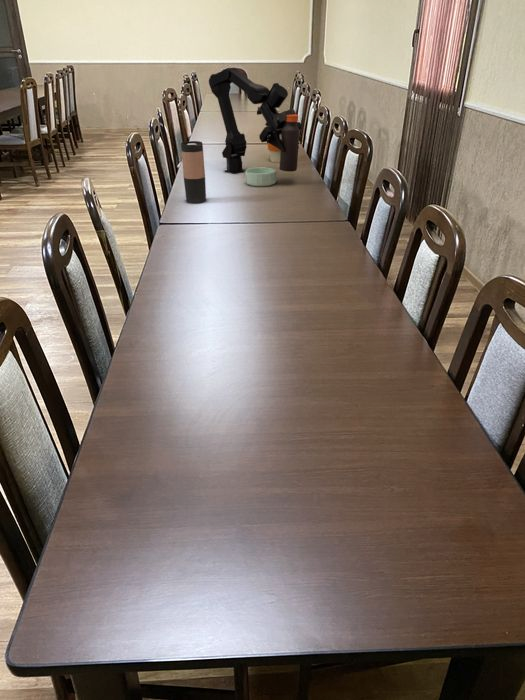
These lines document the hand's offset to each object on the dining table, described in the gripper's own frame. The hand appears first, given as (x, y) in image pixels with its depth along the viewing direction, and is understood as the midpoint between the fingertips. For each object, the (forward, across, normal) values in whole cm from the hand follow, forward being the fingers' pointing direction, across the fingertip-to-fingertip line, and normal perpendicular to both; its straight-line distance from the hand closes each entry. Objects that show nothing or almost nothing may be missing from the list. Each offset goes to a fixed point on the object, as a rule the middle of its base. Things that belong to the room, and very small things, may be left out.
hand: (291, 150), depth 207 cm
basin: (+2, -6, +17) cm, 18 cm away
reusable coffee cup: (-16, +30, +36) cm, 50 cm away
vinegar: (+4, 0, +6) cm, 8 cm away
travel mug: (+4, -40, +16) cm, 43 cm away
